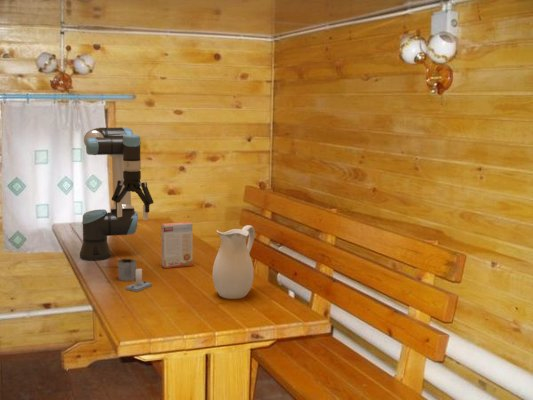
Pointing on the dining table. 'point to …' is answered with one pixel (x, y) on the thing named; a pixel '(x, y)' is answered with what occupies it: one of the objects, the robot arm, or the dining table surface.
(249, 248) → the pitcher
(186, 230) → the cracker box
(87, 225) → the robot arm
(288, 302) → the dining table surface
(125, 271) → the tube
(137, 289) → the shaft stand
